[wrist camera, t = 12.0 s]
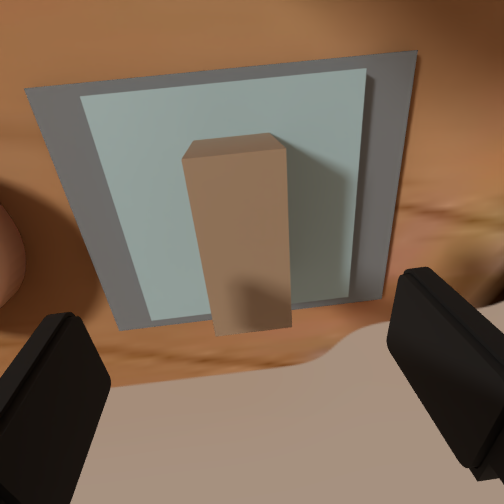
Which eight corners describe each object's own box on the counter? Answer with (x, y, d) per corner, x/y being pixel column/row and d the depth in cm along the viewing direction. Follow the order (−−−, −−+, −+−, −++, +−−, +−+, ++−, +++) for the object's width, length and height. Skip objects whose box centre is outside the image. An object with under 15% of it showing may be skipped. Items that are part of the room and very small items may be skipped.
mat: (411, 51, 16) (417, 50, 16) (377, 294, 24) (381, 299, 23) (30, 88, 15) (23, 88, 15) (121, 325, 23) (119, 330, 23)
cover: (358, 69, 16) (426, 58, 10) (343, 288, 22) (380, 349, 17) (88, 96, 15) (16, 98, 10) (154, 311, 22) (132, 381, 17)
